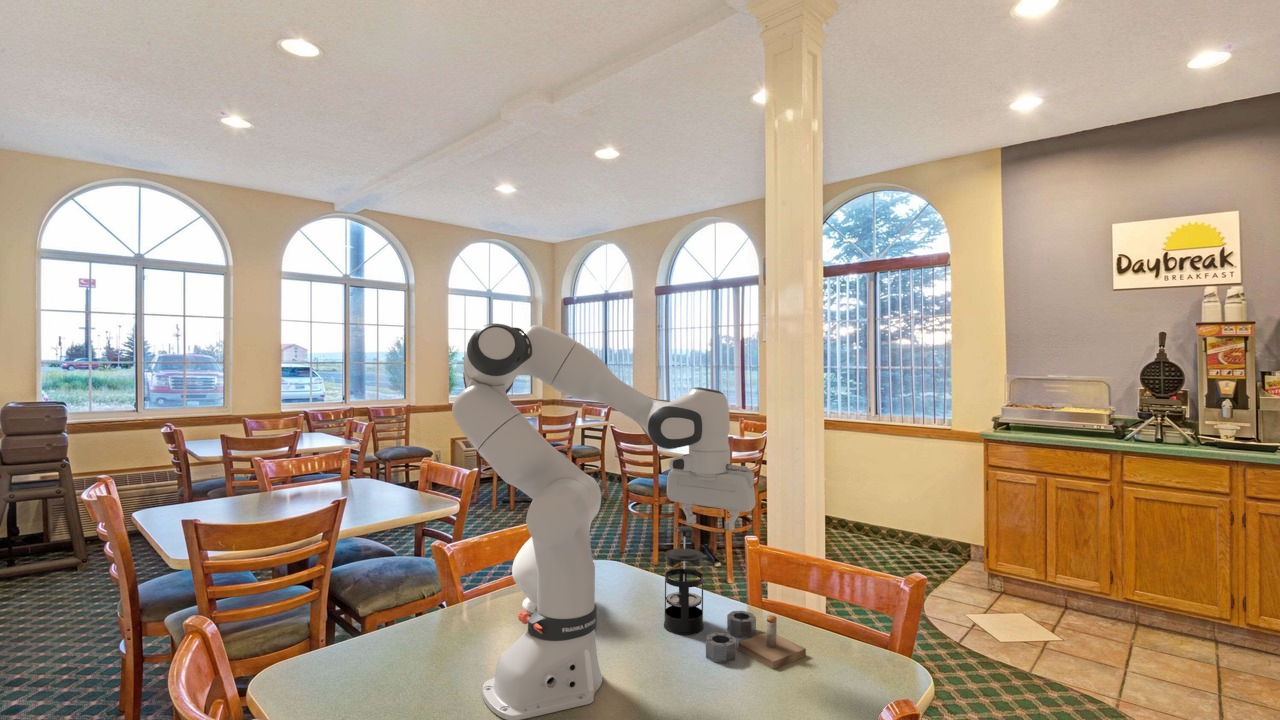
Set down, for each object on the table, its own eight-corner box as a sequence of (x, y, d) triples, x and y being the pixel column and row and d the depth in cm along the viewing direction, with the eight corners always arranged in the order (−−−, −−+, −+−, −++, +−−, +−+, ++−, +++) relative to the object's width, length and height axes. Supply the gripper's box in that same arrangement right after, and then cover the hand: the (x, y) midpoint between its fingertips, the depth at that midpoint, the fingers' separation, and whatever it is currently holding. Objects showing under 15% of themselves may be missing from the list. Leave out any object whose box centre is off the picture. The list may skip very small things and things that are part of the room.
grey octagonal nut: (719, 665, 122) (719, 648, 122) (700, 654, 127) (700, 637, 127) (741, 657, 125) (741, 640, 125) (721, 646, 130) (721, 630, 130)
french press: (705, 636, 135) (706, 534, 135) (663, 636, 135) (664, 533, 135) (701, 615, 147) (702, 521, 147) (663, 614, 147) (664, 520, 147)
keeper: (772, 669, 121) (773, 631, 121) (737, 649, 129) (738, 614, 129) (805, 655, 126) (805, 620, 126) (770, 637, 135) (770, 604, 135)
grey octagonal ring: (747, 639, 134) (748, 623, 134) (723, 632, 137) (723, 617, 137) (759, 630, 138) (759, 615, 139) (735, 623, 142) (735, 608, 142)
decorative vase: (577, 619, 143) (578, 514, 144) (503, 617, 144) (505, 513, 144) (586, 591, 161) (587, 498, 161) (520, 590, 162) (521, 497, 162)
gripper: (760, 464, 126) (761, 530, 126) (677, 456, 138) (678, 517, 138) (747, 469, 121) (747, 537, 121) (662, 460, 133) (663, 523, 133)
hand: (710, 526), depth 129 cm, fingers open, 8 cm apart
